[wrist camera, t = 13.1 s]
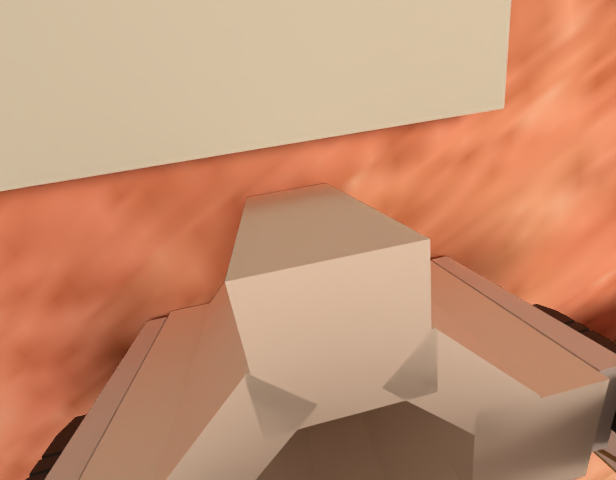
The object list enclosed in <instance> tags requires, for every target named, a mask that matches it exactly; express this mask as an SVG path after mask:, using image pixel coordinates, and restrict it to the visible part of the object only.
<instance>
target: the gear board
mask: <svg viewBox="0 0 616 480" xmlns="http://www.w3.org/2000/svg"><path fill="white" fill-rule="evenodd" d="M510 12H511V0H0V191H6V190H12V189H18V188H24V187H30V186H36V185H42V184H48V183H54V182H60V181H66V180H73V179H79V178H85V177H91V176H97V175H103V174H109V173H115V172H121V171H127V170H133V169H139V168H146V167H152V166H158V165H164V164H170V163H176V162H182V161H188V160H194V159H200V158H206V157H212V156H219V155H225V154H231V153H237V152H243V151H249V150H255V149H261V148H267V147H273V146H279V145H285V144H292V143H298V142H304V141H310V140H316V139H322V138H328V137H334V136H340V135H346V134H352V133H358V132H365V131H371V130H377V129H383V128H389V127H395V126H401V125H407V124H413V123H419V122H425V121H431V120H438V119H444V118H450V117H456V116H462V115H468V114H474V113H480V112H486V111H492V110H498V109H504V102H505V87H506V72H507V57H508V42H509V27H510Z"/></svg>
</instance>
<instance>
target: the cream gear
mask: <svg viewBox="0 0 616 480" xmlns="http://www.w3.org/2000/svg"><path fill="white" fill-rule="evenodd" d="M609 380H610V379H609V378H607V377H606V376H604V375H603V374H601V373H600V372H598V371H597V370H595V369H594V368H592V367H591V366H589V365H588V364H586V363H585V362H583V361H581V360H580V359H578V358H577V357H575V356H574V355H572V354H571V353H569V352H568V351H566V350H565V349H563V348H562V347H560V346H559V345H557V344H556V343H554V342H553V341H551V340H550V339H548V338H547V337H545V336H544V335H542V334H541V333H539V332H538V331H536V330H535V329H533V328H532V327H530V326H529V325H527V324H526V323H524V322H523V321H521V320H520V319H518V318H517V317H515V316H514V315H512V314H511V313H509V312H508V311H506V310H505V309H503V308H501V307H500V306H498V305H497V304H495V303H494V302H492V301H491V300H489V299H488V298H486V297H485V296H483V295H482V294H480V293H479V292H477V291H476V290H474V289H473V288H471V287H470V286H468V285H467V284H465V283H464V282H462V281H461V280H459V279H458V278H456V277H455V276H453V275H452V274H450V273H449V272H447V271H446V270H444V269H443V268H441V267H440V266H438V265H437V264H435V263H434V262H432V261H431V260H430V239H429V238H428V237H426V236H424V235H422V234H420V233H418V232H416V231H415V230H413V229H411V228H409V227H407V226H405V225H403V224H402V223H400V222H398V221H396V220H394V219H392V218H390V217H389V216H387V215H385V214H383V213H381V212H379V211H377V210H375V209H374V208H372V207H370V206H368V205H366V204H364V203H362V202H361V201H359V200H357V199H355V198H353V197H351V196H349V195H348V194H346V193H344V192H342V191H340V190H338V189H336V188H334V187H333V186H331V185H329V184H327V183H324V184H318V185H313V186H307V187H302V188H296V189H291V190H285V191H279V192H274V193H268V194H263V195H257V196H252V197H247V199H246V203H245V206H244V210H243V214H242V218H241V222H240V226H239V229H238V233H237V237H236V241H235V245H234V249H233V252H232V256H231V260H230V264H229V268H228V271H227V275H226V279H225V282H224V283H223V284H222V286H221V287H220V289H219V290H218V292H217V293H216V295H215V296H214V298H213V299H212V300H211V302H210V303H207V304H203V305H198V306H193V307H189V308H184V309H180V310H175V311H171V312H170V314H169V316H168V318H167V320H166V321H165V323H164V325H163V327H162V329H161V331H160V332H159V334H158V336H157V338H156V340H155V342H154V343H153V345H152V347H151V349H150V351H149V353H148V355H147V356H146V358H145V360H144V362H143V364H142V366H141V367H140V369H139V371H138V373H137V375H136V377H135V378H134V380H133V382H132V384H131V386H130V388H129V389H128V391H127V393H126V395H125V397H124V399H123V401H122V402H121V404H120V406H119V408H118V410H117V412H116V413H115V415H114V417H113V419H112V421H111V423H110V424H109V426H108V428H107V430H106V432H105V434H104V436H103V437H102V439H101V441H100V443H99V445H98V447H97V448H96V450H95V452H94V454H93V456H92V458H91V459H90V461H89V463H88V465H87V467H86V469H85V471H84V472H83V474H82V476H81V478H80V480H574V479H577V478H580V477H583V476H585V475H586V471H587V467H588V463H589V459H590V455H591V451H592V447H593V443H594V439H595V435H596V431H597V427H598V423H599V419H600V416H601V412H602V408H603V404H604V400H605V396H606V392H607V388H608V384H609Z"/></svg>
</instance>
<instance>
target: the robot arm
mask: <svg viewBox="0 0 616 480" xmlns="http://www.w3.org/2000/svg"><path fill="white" fill-rule="evenodd" d="M431 261H432V262H434V263H435V264H437V265H438V266H440V267H441V268H443V269H444V270H446V271H447V272H449V273H450V274H452V275H453V276H455V277H456V278H458V279H459V280H461V281H462V282H464V283H465V284H467V285H468V286H470V287H471V288H473V289H474V290H476V291H477V292H479V293H480V294H482V295H483V296H485V297H486V298H488V299H489V300H491V301H492V302H494V303H495V304H497V305H498V306H500V307H501V308H503V309H505V310H506V311H508V312H509V313H511V314H512V315H514V316H515V317H517V318H518V319H520V320H521V321H523V322H524V323H526V324H527V325H529V326H530V327H532V328H533V329H535V330H536V331H538V332H539V333H541V334H542V335H544V336H545V337H547V338H548V339H550V340H551V341H553V342H554V343H556V344H557V345H559V346H560V347H562V348H563V349H565V350H566V351H568V352H569V353H571V354H572V355H574V356H575V357H577V358H578V359H580V360H581V361H583V362H585V363H586V364H588V365H589V366H591V367H592V368H594V369H595V370H597V371H598V372H600V373H601V374H603V375H604V376H606V377H607V378H609V379H610V380H609V384H608V388H607V392H606V396H605V400H604V404H603V408H602V412H601V416H600V419H599V423H598V427H597V431H596V435H595V439H594V443H593V447H592V451H591V452H594V451H598V450H601V449H604V448H607V445H608V441H609V438H610V434H611V430H612V431H614V432H615V433H616V343H614V342H612V341H611V340H609V339H607V338H605V337H603V336H601V335H600V334H598V333H596V332H594V331H590V330H589V328H587V327H585V326H583V325H582V324H580V323H578V322H576V323H575V322H574V320H573V319H571V318H569V317H567V316H565V315H563V314H562V313H560V312H558V311H556V310H553V309H550V308H547V307H544V306H541V305H538V304H534V305H531V304H529V303H527V302H526V301H524V300H522V299H521V298H519V297H517V296H515V295H514V294H512V293H510V292H509V291H507V290H505V289H503V288H502V287H500V286H498V285H497V284H495V283H493V282H491V281H490V280H488V279H486V278H484V277H483V276H481V275H479V274H478V273H476V272H474V271H472V270H471V269H469V268H467V267H466V266H464V265H462V264H460V263H459V262H457V261H455V260H454V259H452V258H450V257H448V256H446V257H441V258H436V259H432V260H431ZM166 320H167V317H164V318H160V319H155V320H150V321H147V322H146V324H145V325H144V327H143V328H142V330H141V331H140V333H139V334H138V336H137V338H136V339H135V341H134V342H133V344H132V345H131V347H130V348H129V350H128V351H127V353H126V355H125V356H124V358H123V359H122V361H121V362H120V364H119V365H118V367H117V368H116V370H115V372H114V373H113V375H112V376H111V378H110V379H109V381H108V382H107V384H106V385H105V387H104V389H103V390H102V392H101V393H100V395H99V396H98V398H97V399H96V401H95V402H94V404H93V405H92V407H91V409H90V410H89V412H88V413H87V415H83V416H79V417H75V418H74V419H73V420H72V421H71V422H70V423H69V424H68V425H67V426H66V427H65V428H64V429H63V430H62V431H61V432H60V433H59V434H58V435H57V436H56V437H55V439H54V440H53V441H52V443H51V444H50V446H49V447H48V448H47V450H46V451H45V453H44V454H43V456H42V460H39V461H38V463H37V464H36V466H35V467H34V468H33V470H32V471H31V473H30V477H29V478H27V479H26V480H80V478H81V476H82V474H83V472H84V471H85V469H86V467H87V465H88V463H89V461H90V459H91V458H92V456H93V454H94V452H95V450H96V448H97V447H98V445H99V443H100V441H101V439H102V437H103V436H104V434H105V432H106V430H107V428H108V426H109V424H110V423H111V421H112V419H113V417H114V415H115V413H116V412H117V410H118V408H119V406H120V404H121V402H122V401H123V399H124V397H125V395H126V393H127V391H128V389H129V388H130V386H131V384H132V382H133V380H134V378H135V377H136V375H137V373H138V371H139V369H140V367H141V366H142V364H143V362H144V360H145V358H146V356H147V355H148V353H149V351H150V349H151V347H152V345H153V343H154V342H155V340H156V338H157V336H158V334H159V332H160V331H161V329H162V327H163V325H164V323H165V321H166Z"/></svg>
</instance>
